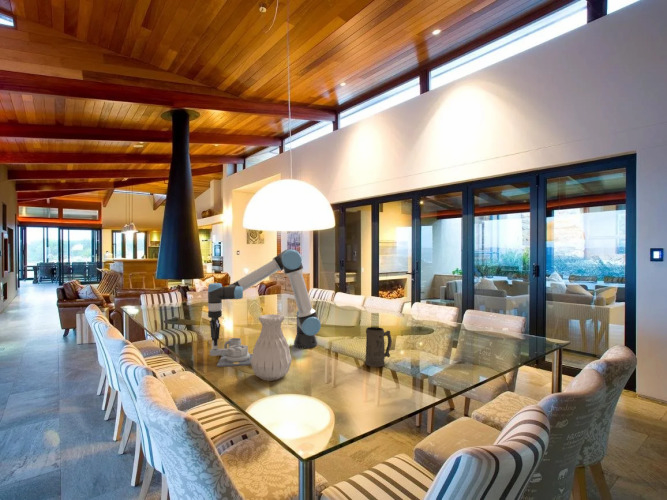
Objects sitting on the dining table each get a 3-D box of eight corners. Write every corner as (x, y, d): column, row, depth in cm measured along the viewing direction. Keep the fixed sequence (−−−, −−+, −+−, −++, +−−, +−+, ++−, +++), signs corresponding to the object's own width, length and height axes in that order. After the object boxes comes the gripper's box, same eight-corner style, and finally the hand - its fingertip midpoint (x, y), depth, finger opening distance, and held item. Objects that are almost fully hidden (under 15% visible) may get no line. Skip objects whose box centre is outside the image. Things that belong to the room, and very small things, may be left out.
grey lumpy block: (248, 350, 209) (248, 344, 209) (246, 356, 198) (246, 349, 198) (212, 352, 206) (212, 345, 206) (208, 357, 195) (208, 350, 195)
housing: (257, 355, 213) (257, 342, 213) (254, 365, 195) (254, 351, 195) (222, 356, 210) (222, 344, 210) (216, 366, 192) (216, 352, 192)
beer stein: (370, 368, 190) (373, 330, 191) (360, 362, 200) (362, 326, 200) (394, 366, 197) (396, 329, 198) (382, 360, 207) (385, 325, 207)
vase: (273, 387, 164) (273, 322, 164) (242, 379, 175) (242, 317, 174) (299, 374, 181) (299, 315, 181) (270, 367, 192) (270, 311, 191)
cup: (239, 356, 212) (239, 341, 212) (222, 356, 212) (222, 340, 212) (242, 352, 219) (242, 337, 219) (226, 352, 219) (226, 337, 219)
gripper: (205, 309, 210) (205, 349, 211) (211, 312, 200) (211, 354, 200) (218, 307, 215) (218, 347, 215) (224, 311, 204) (224, 352, 204)
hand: (214, 350), depth 207 cm, fingers closed
